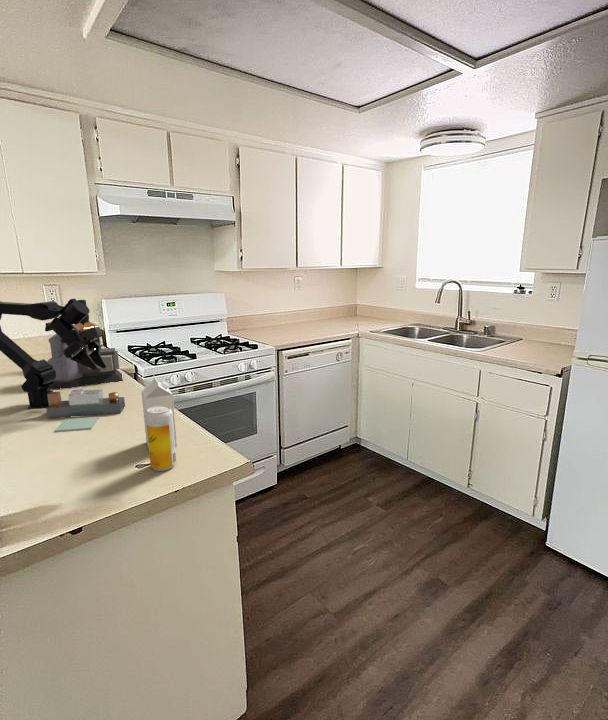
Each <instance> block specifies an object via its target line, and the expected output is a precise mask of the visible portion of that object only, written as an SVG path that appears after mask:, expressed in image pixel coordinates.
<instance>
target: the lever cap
mask: <svg viewBox="0 0 608 720" xmlns="http://www.w3.org/2000/svg"><path fill="white" fill-rule="evenodd" d="M103 393H104V392H103V388H102V389H101V388H100V389H99V388H98V389H86V390H84V389H81V388H80V389H72V391H71V392H70V393H69V395H67V397H68V400H69V406H77V405H92V404H100V403H101V401H102V400H103V398H104V394H103Z"/></svg>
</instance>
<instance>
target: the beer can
mask: <svg viewBox="0 0 608 720" xmlns="http://www.w3.org/2000/svg"><path fill="white" fill-rule="evenodd" d="M146 424H147V434H148V444H149V448H148V454H149V462H150V467H151V468H152V469H153V470H154V471H156V472H164V471H168V470H171V469H173V467H174V466H175V465H176V464H177V453H176V447H175V438H174V426H173V414H172V411H171V409H170V407H169V406H164V405H161V406H154V407H151V408H149V409H148V410H147V413H146Z"/></svg>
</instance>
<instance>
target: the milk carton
mask: <svg viewBox="0 0 608 720" xmlns="http://www.w3.org/2000/svg"><path fill="white" fill-rule="evenodd" d="M141 399H142V408H143V409H142V411H143V420H144V430H145V441H146V442H145V443H146V445H147V448H148V449H149V444H148V434H147V424H146V413H147V410H148V409H149V408H151V407H154V406H161V405H164V406H169V407H170V409H171V411H172V414H173V426H174V438H175V448H176V447H178V443H177V430H176V417H175V404H174V395H173V393H172V391H171V390H170V385H169V383H168V382H165V381H162V382H159V380H158V379H157V378H156V376H155V375H153V379H152V381H150V382H149V383H148V384H147V385H146V386H145V388H143V389H142V390H141Z"/></svg>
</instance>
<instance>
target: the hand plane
mask: <svg viewBox="0 0 608 720" xmlns="http://www.w3.org/2000/svg"><path fill="white" fill-rule="evenodd" d="M47 396H48V403H49V407H45V408H46V409H45V410H46V415H47V419H48V418H52V419H60V418H59V417H66V418H72V417H71V416H80V417H92V416H93V417H95V416H106V415H117V414H120V413H121V412H123V411H124V409H125V408H124V407H126V403H125V397H124V396H120V395H119V392H116V391H113V392H109V393H108V395H107V396H108V397H105V398H104V397H103V400H102V401H101V403H100V404H92V405H77V406H69V399H68V400H62V395H61V391H53V392H50V393H48V394H47ZM121 414H122V413H121Z"/></svg>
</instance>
